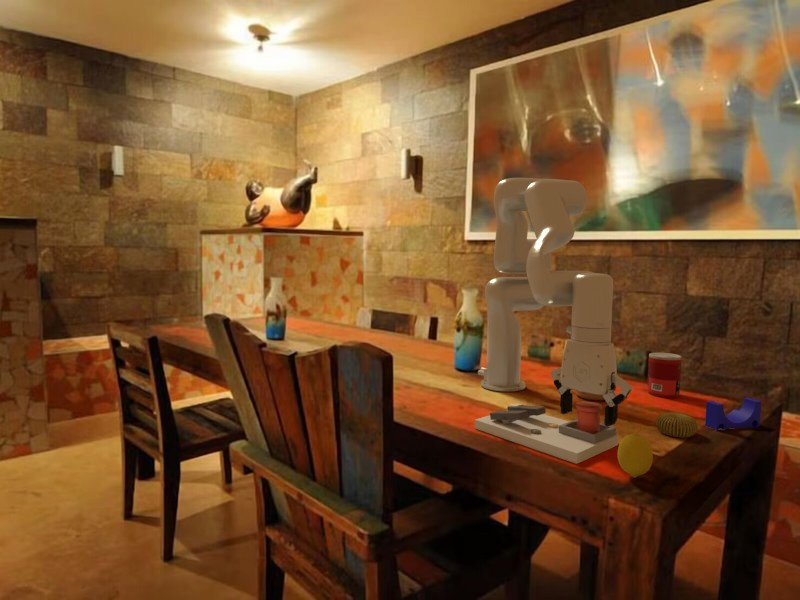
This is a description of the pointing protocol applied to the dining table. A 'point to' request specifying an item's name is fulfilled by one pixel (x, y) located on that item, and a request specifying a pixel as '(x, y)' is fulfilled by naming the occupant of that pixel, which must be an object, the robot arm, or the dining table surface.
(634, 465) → the lemon
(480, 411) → the dining table surface
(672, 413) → the sculpture
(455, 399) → the dining table surface
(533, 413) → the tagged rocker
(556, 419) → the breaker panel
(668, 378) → the canned food
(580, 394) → the donut
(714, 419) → the blue pipe cradle
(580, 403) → the cap
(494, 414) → the plain rocker
